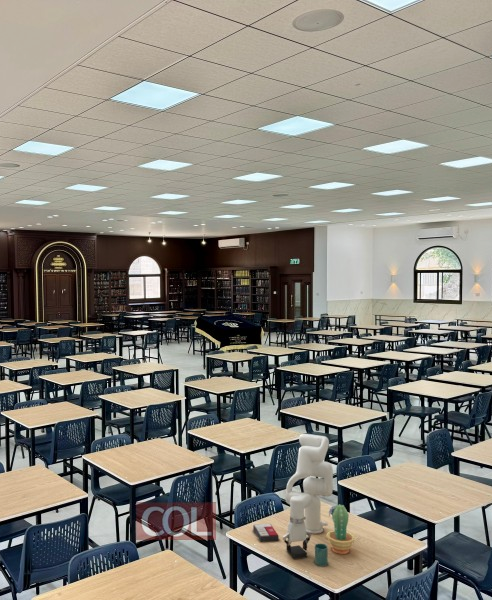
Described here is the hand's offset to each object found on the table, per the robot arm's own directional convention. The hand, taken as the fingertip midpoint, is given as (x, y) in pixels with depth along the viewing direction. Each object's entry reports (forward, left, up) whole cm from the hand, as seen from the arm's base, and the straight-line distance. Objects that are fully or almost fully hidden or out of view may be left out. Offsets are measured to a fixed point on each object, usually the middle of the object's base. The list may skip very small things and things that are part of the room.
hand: (296, 550), depth 304 cm
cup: (-8, +12, -2) cm, 15 cm away
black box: (0, 0, -2) cm, 2 cm away
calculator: (+7, -26, -3) cm, 27 cm away
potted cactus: (-26, +2, -3) cm, 27 cm away
